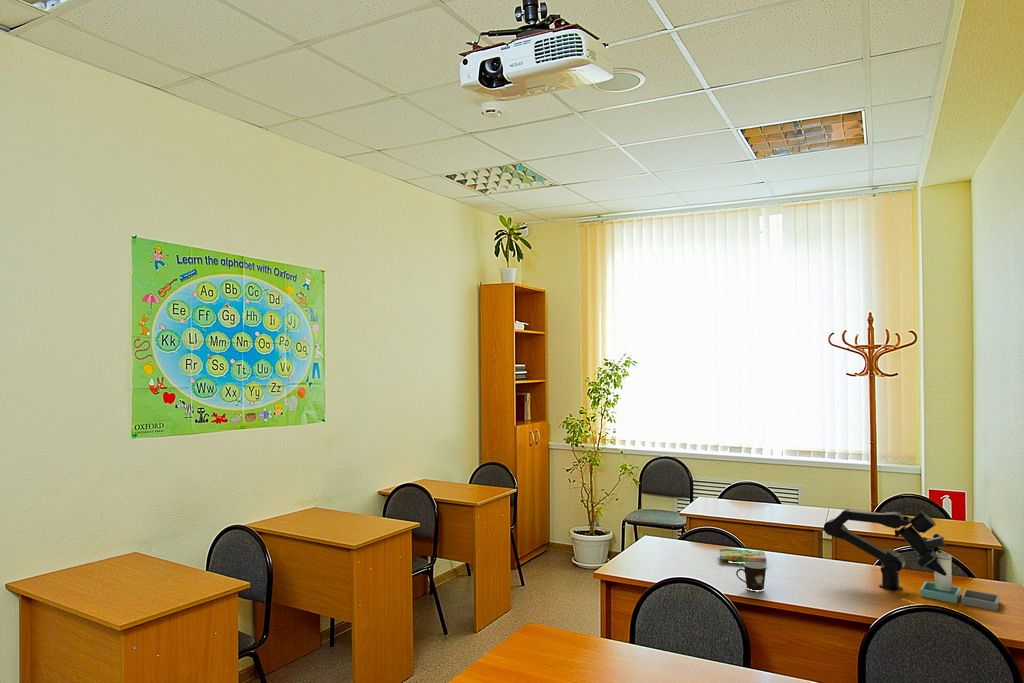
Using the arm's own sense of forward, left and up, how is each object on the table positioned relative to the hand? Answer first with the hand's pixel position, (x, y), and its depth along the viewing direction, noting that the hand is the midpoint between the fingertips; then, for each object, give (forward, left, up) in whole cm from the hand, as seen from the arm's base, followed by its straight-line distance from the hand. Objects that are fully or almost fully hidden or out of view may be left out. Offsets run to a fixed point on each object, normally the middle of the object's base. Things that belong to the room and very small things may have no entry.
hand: (947, 573), depth 267 cm
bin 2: (+4, -10, -10) cm, 15 cm away
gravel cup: (-1, +1, -6) cm, 6 cm away
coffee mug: (-58, +46, -10) cm, 75 cm away
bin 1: (-1, +2, -10) cm, 10 cm away
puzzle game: (-32, +74, -10) cm, 81 cm away
